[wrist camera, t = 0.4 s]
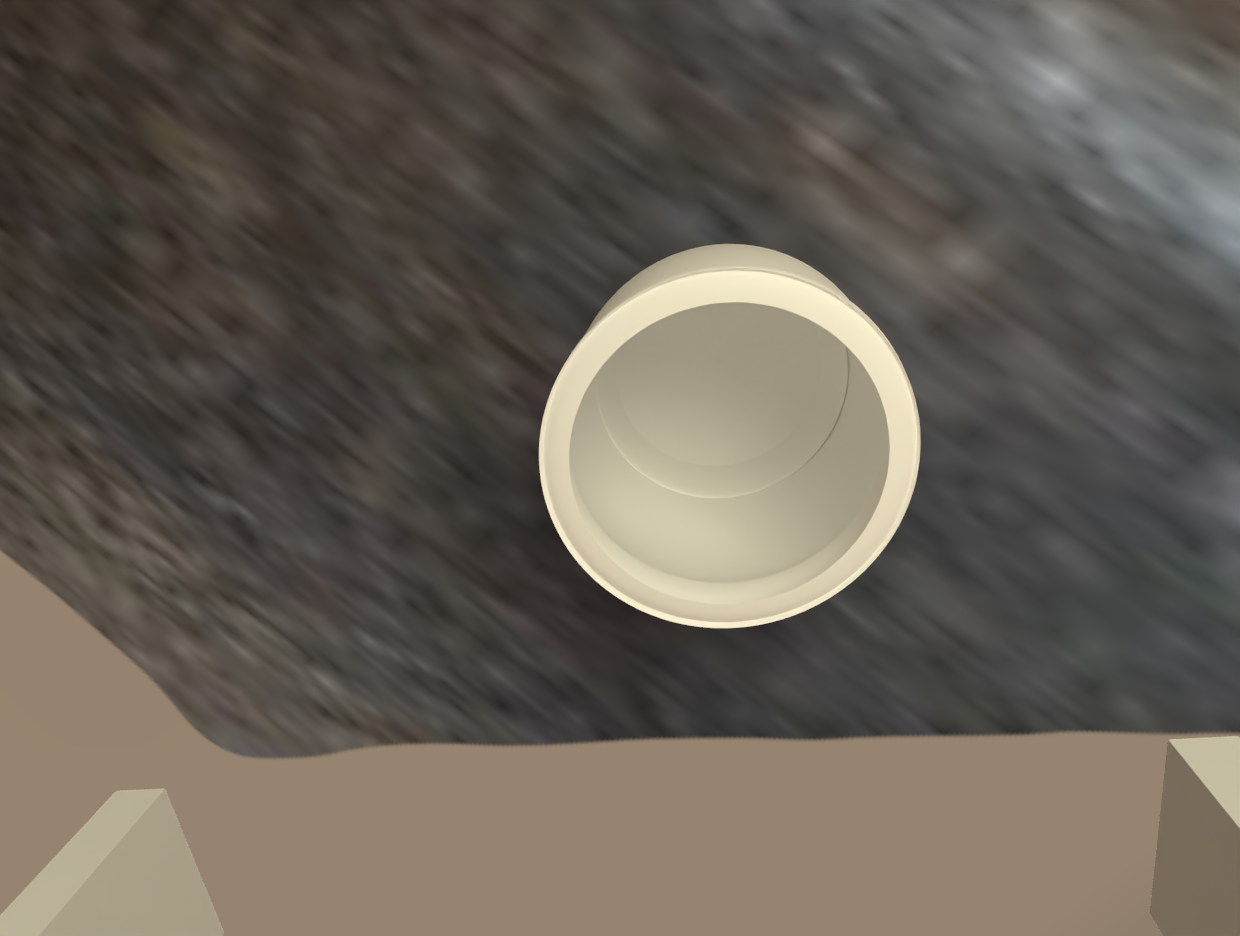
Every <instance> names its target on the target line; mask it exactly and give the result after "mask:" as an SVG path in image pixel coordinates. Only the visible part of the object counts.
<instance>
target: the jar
mask: <svg viewBox="0 0 1240 936" xmlns="http://www.w3.org/2000/svg"><path fill="white" fill-rule="evenodd" d="M919 460H920V424H919V416H918V410H917V405H916V401H915V397H914V394H913V390H912V387H911V385H910V382H909V379H908V377H907V374H906V372H905V370H904V367H903V365H902V363H901V361H900V359H899V357H898V355H897V354H896V352H895V350H894V349H893V347H892V346H891V344H890V342H889V341H888V339H887V338H886V337H885V335H884V334H883V333H882V331H881V330H880V329H879V328H878V327H877V326H876V324H875V323H874V322H873V321H872V320H871V319H870V318H869V317H868V316H867V315H866V314H865V313H864V312H863V311H862V310H861V309H859V308H858V307H857V306H856V305H855V304H853V303H852V302H851V301H850V300H849V299H848V298H847V297H846V296H845V295H844V294H843V293H842V292H841V291H840V290H839V289H838V288H837V287H836V286H835V285H834V284H833V283H832V282H831V281H830V280H828V279H827V278H826V277H825V276H823V275H822V274H821V273H819V272H818V271H816V270H815V269H813V268H812V267H810V266H809V265H807V264H805V263H803V262H801V261H799V260H797V259H795V258H793V257H791V256H789V255H786V254H783V253H781V252H778V251H774V250H771V249H767V248H763V247H758V246H752V245H743V244H718V245H709V246H703V247H697V248H693V249H689V250H686V251H683V252H680V253H677V254H674V255H672V256H669V257H667V258H665V259H662V260H660V261H658V262H657V263H655V264H653V265H651V266H649V267H648V268H646V269H645V270H643V271H641V272H640V273H639V274H637V275H636V276H634V277H633V278H632V279H631V280H629V281H628V282H627V283H626V284H625V285H623V286H622V287H621V288H620V289H619V290H618V291H617V292H616V293H615V294H614V295H613V296H612V297H611V298H610V300H609V301H608V302H607V303H606V304H605V305H604V307H603V308H602V309H601V310H600V312H599V313H598V315H597V316H596V317H595V319H594V320H593V322H592V324H591V325H590V327H589V329H588V330H587V332H586V334H585V335H584V336H583V338H582V339H581V340H580V341H579V343H578V344H577V345H576V347H575V348H574V350H573V351H572V353H571V354H570V356H569V358H568V359H567V361H566V363H565V364H564V366H563V368H562V369H561V371H560V373H559V375H558V377H557V379H556V381H555V383H554V386H553V388H552V390H551V393H550V396H549V399H548V401H547V405H546V408H545V412H544V416H543V420H542V426H541V432H540V442H539V468H540V478H541V484H542V489H543V494H544V498H545V501H546V505H547V508H548V511H549V513H550V516H551V519H552V521H553V523H554V525H555V528H556V530H557V532H558V534H559V535H560V537H561V539H562V541H563V542H564V544H565V545H566V547H567V549H568V550H569V551H570V553H571V554H572V556H573V557H574V558H575V559H576V561H577V562H578V563H579V564H580V565H581V567H582V568H583V569H584V570H585V571H586V572H587V573H588V574H589V575H590V576H591V577H592V578H593V579H594V580H595V581H596V582H598V583H599V584H600V585H601V586H602V587H604V588H605V589H606V590H607V591H609V592H610V593H612V594H613V595H614V596H616V597H617V598H619V599H621V600H622V601H624V602H626V603H627V604H629V605H631V606H633V607H635V608H637V609H639V610H641V611H643V612H645V613H648V614H650V615H653V616H656V617H658V618H661V619H665V620H668V621H672V622H675V623H680V624H685V625H690V626H697V627H707V628H739V627H748V626H755V625H761V624H766V623H770V622H774V621H778V620H781V619H785V618H788V617H790V616H793V615H796V614H798V613H801V612H803V611H806V610H808V609H810V608H812V607H814V606H816V605H818V604H820V603H822V602H823V601H825V600H827V599H829V598H830V597H832V596H833V595H835V594H836V593H838V592H839V591H841V590H842V589H844V588H845V587H846V586H847V585H849V584H850V583H851V582H852V581H854V580H855V579H856V578H857V577H858V576H859V575H860V574H862V573H863V572H864V571H865V570H866V569H867V568H868V567H869V566H870V565H871V563H872V562H873V561H874V560H875V559H876V558H877V557H878V555H879V554H880V553H881V552H882V550H883V549H884V548H885V546H886V545H887V544H888V542H889V541H890V539H891V538H892V536H893V535H894V533H895V531H896V530H897V528H898V526H899V524H900V522H901V520H902V518H903V516H904V514H905V512H906V509H907V507H908V505H909V502H910V499H911V496H912V493H913V490H914V486H915V482H916V478H917V473H918V467H919Z"/></svg>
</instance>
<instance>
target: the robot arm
mask: <svg viewBox="0 0 1240 936" xmlns="http://www.w3.org/2000/svg"><path fill="white" fill-rule="evenodd" d="M1150 914H1151V915H1152V917H1153V919H1154V920H1155V922H1156V924H1157V926H1158V927H1159V929H1160V931H1161V932H1162V934H1163V936H1240V737H1239V736H1229V737H1209V738H1188V739H1170V740H1169V739H1168V746H1167V756H1166V765H1165V774H1164V784H1163V793H1162V803H1161V812H1160V821H1159V831H1158V841H1157V850H1156V859H1155V869H1154V879H1153V888H1152V897H1151V906H1150ZM223 934H224V931H223V929H222V927H221V924H220V921H219V919H218V917H217V914H216V912H215V909H214V907H213V905H212V902H211V899H210V897H209V895H208V892H207V890H206V888H205V885H204V882H203V880H202V878H201V875H200V873H199V870H198V868H197V865H196V863H195V860H194V858H193V855H192V853H191V851H190V848H189V846H188V843H187V841H186V838H185V836H184V833H183V831H182V829H181V826H180V824H179V821H178V819H177V816H176V814H175V811H174V809H173V807H172V804H171V802H170V799H169V797H168V794H167V792H166V789H165V788H164V789H144V790H123V791H115V793H114V794H113V795H112V796H111V797H110V798H109V799H108V800H107V801H106V802H105V803H104V804H103V805H102V807H101V808H100V809H99V810H98V811H97V812H96V813H95V814H94V815H93V816H92V817H91V818H90V820H89V821H88V822H87V823H86V824H85V825H84V826H83V827H82V828H81V829H80V830H79V831H78V832H77V833H76V834H75V836H74V837H73V838H72V839H71V840H70V841H69V842H68V843H67V844H66V845H65V846H64V848H62V850H61V851H60V852H59V853H58V854H57V855H56V856H55V857H54V858H53V859H52V860H51V861H50V862H49V863H48V864H47V866H46V867H45V868H44V869H43V870H42V871H41V872H40V873H39V874H38V875H37V876H36V877H35V878H34V879H33V881H32V882H31V883H30V884H29V885H28V886H27V887H26V888H25V889H24V890H23V891H22V892H21V893H20V895H19V896H18V897H17V898H16V899H15V900H14V901H13V902H12V903H11V904H10V905H9V906H8V908H6V910H5V911H4V912H3V913H2V914H1V915H0V936H223Z"/></svg>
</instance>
